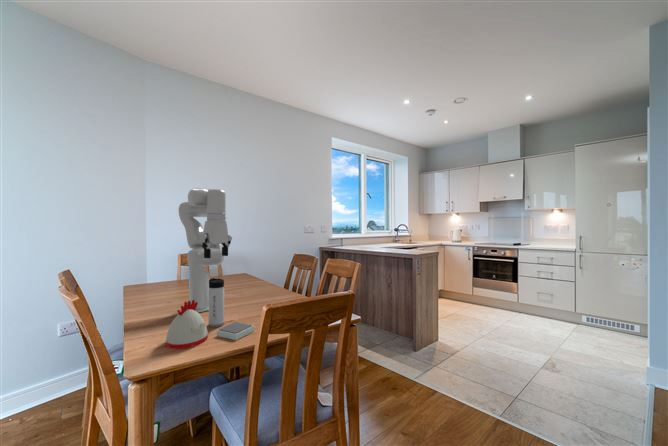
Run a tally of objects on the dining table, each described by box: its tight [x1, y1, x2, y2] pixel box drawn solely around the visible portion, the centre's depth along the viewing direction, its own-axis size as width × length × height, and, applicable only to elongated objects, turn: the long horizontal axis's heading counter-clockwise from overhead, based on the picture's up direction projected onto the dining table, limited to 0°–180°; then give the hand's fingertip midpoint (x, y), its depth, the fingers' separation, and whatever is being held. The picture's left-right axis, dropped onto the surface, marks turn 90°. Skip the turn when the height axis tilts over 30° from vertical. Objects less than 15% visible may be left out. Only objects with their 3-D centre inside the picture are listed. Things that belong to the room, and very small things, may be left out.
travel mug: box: [208, 278, 225, 328], centre depth 122 cm, size 6×7×20 cm
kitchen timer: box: [165, 300, 209, 350], centre depth 105 cm, size 14×14×15 cm
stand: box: [216, 321, 255, 341], centre depth 112 cm, size 10×10×2 cm
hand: (216, 256), depth 122 cm, fingers open, 9 cm apart
